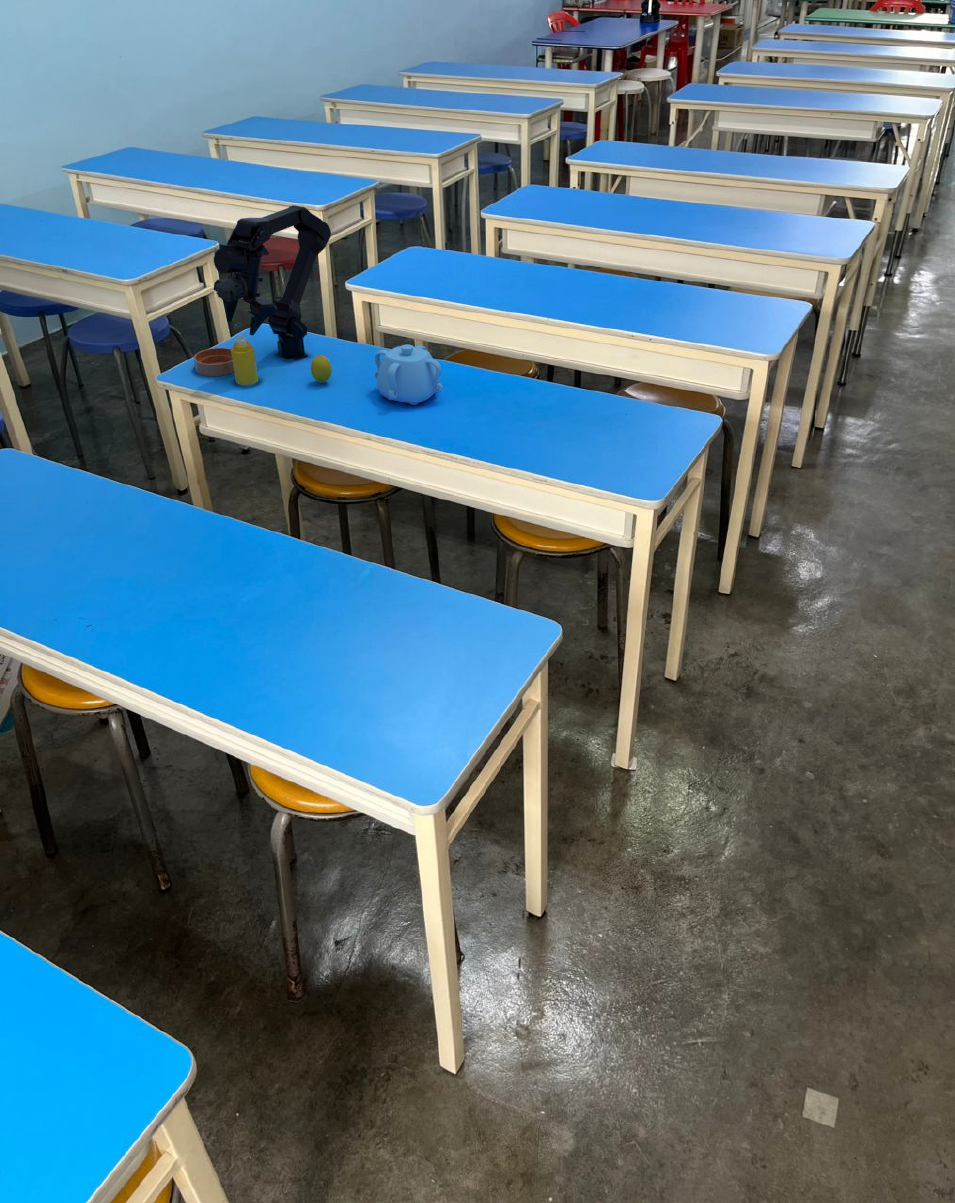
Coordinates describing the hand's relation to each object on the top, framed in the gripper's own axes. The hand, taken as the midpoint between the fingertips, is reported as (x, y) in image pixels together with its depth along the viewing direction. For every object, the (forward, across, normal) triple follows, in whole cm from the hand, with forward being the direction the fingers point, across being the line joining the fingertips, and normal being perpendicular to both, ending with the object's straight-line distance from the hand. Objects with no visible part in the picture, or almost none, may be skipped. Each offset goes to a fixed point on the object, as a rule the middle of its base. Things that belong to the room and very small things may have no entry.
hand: (240, 328), depth 253 cm
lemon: (+6, +24, +10) cm, 27 cm away
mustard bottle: (+12, +8, -2) cm, 14 cm away
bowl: (+14, -5, -1) cm, 15 cm away
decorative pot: (+1, +47, +18) cm, 50 cm away
